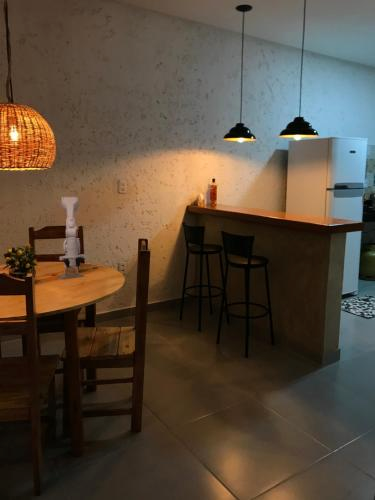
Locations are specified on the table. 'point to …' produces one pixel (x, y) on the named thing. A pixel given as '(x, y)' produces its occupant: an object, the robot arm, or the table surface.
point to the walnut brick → (70, 271)
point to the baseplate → (71, 276)
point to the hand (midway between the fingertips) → (72, 270)
